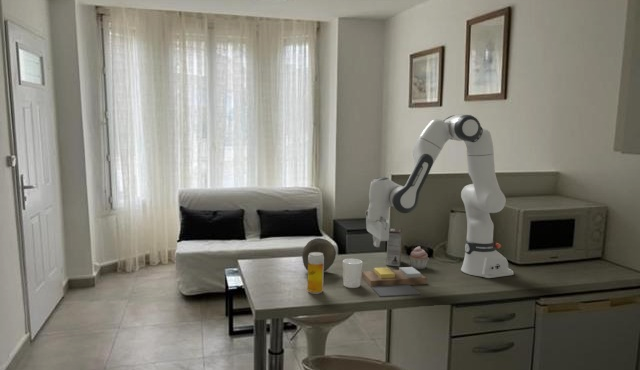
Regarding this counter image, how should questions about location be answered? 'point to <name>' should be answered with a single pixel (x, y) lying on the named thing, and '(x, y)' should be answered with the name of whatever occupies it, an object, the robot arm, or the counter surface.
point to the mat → (394, 290)
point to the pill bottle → (315, 272)
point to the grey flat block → (409, 272)
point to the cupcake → (418, 258)
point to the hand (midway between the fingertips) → (376, 246)
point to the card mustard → (384, 272)
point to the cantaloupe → (321, 247)
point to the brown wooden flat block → (392, 279)
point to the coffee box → (394, 247)
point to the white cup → (352, 272)
